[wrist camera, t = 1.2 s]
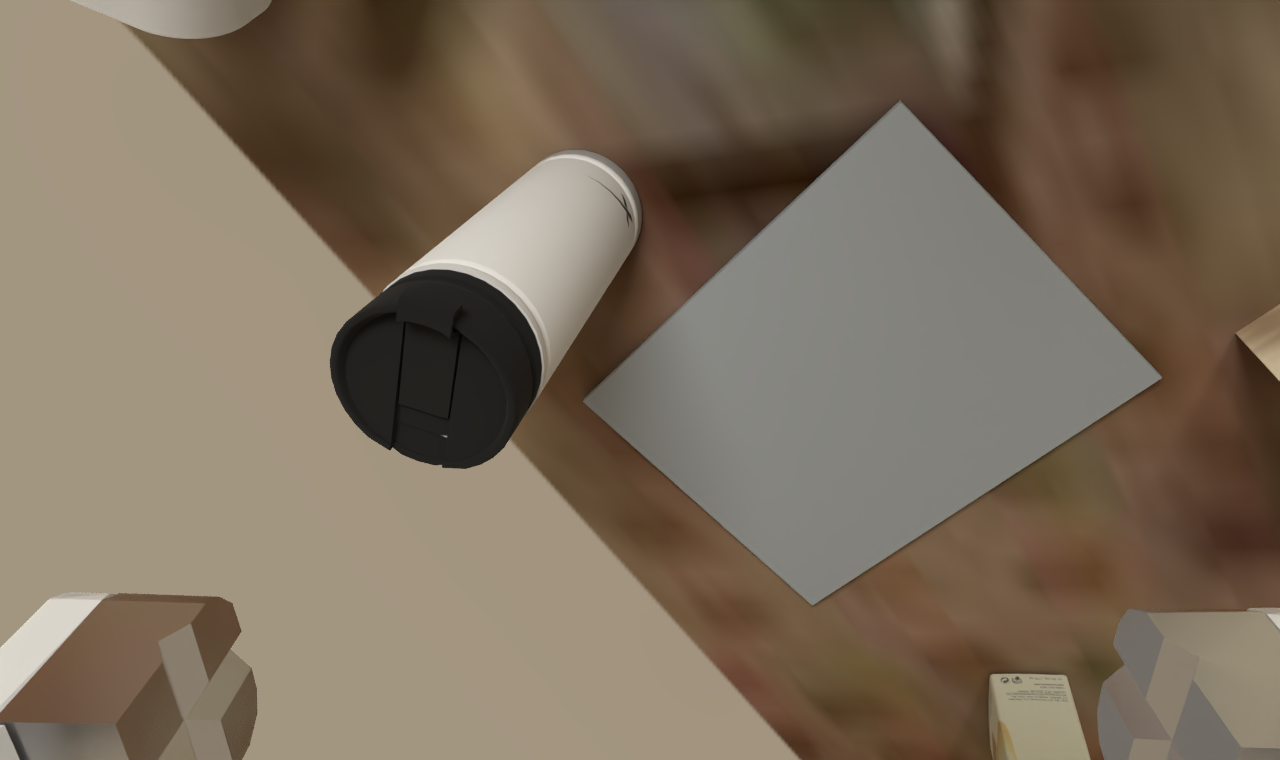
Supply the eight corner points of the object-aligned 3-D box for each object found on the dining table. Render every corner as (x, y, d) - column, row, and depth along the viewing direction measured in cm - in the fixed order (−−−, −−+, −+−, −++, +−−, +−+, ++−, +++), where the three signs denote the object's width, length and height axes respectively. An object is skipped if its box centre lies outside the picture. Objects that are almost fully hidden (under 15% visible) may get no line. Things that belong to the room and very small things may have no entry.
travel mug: (658, 162, 43) (530, 333, 25) (627, 286, 46) (494, 512, 29) (534, 125, 43) (324, 268, 26) (511, 250, 46) (311, 452, 29)
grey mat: (900, 99, 39) (900, 102, 39) (1158, 372, 43) (1162, 378, 42) (585, 396, 50) (582, 401, 49) (812, 598, 53) (812, 605, 52)
